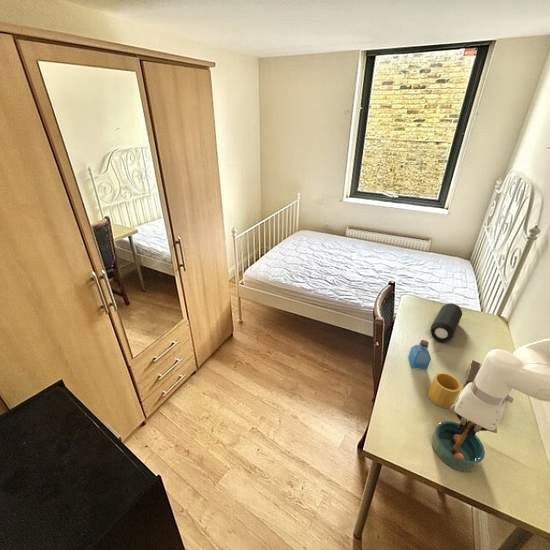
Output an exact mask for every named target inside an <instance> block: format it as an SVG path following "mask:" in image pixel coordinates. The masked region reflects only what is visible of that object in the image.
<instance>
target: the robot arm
mask: <svg viewBox="0 0 550 550" xmlns="http://www.w3.org/2000/svg"><path fill="white" fill-rule="evenodd" d="M481 364H482V365H481V367H480V369H479V371H478V373H477V375H476V377H475V379H474V381H473V383H472V382H470V383H468V384H467V385H466V386H465V388H464V389H463V388H462V389H463V390H462V389H461V391H460V392H459V394H458V396H457V398H456V400H455V402H454V404H453V405H451V407H450V408H449V410H450V411H451V412H452V413H453V414H455V415H456V417H457V419H458V420H459V421H460V422H459V426H458V429H460V431H459V434H460V435H462V434H463V432H464V430H465V428H466V425H467V422H468V420H470V421H472V422H474V424H473V426H472V427H471V429H470V431H469V433H468V434H467V438H468V439H470V438H471V436H473V437H474V436H475V435H476V434H477V433H480V432H486V431H488V432H490V433H494V434H497V433H498V426H499V424H500V422H501V419H502V417H503V414H504V412H505V409H506V405H507V402H508V403H510V404H511V403H512V404H513V401H514V399H515V398H514V397H513V396H511V395H509V394H510V392H511V391H512V389H513V390H515V391H517V392H519V393H522V394H524V395H526V396H528V397H531V398H533V399H535V400H538V401H542V402H549V403H550V338H545V339H542V340H539V341H535V342H532V343H528V344H525V345H522V346H520V347H518V348H517V349H515V350H514V351H513V353H512V352H510V351H507V350H504V349H498V348H497V349H496V348H495V349H491V350H490V351H488V353H487V354H486V356H485V357H484V360H483V361H482V363H481Z"/></svg>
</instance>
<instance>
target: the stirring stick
mask: <svg viewBox="0 0 550 550" xmlns="http://www.w3.org/2000/svg"><path fill="white" fill-rule="evenodd" d="M467 420H468V419H467ZM473 424H474V422H472V421H470V420H468V421H467V425H466V428H465V430H464V432H463V434H462V435H460V436H459V438H458V440H457V441H456V443H455V445H454V447H453V448H452V450H451V453H452V454H455V453H457V452H458V450H459V448H460V446H461V445H462V443H463V441H464V440H465V438H466V436H467V434H468V433H469V431H470V429H471V427H472V426H473Z"/></svg>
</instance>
